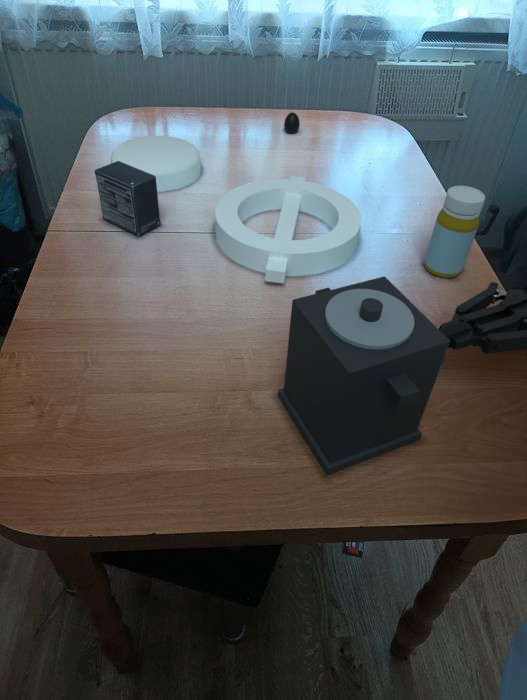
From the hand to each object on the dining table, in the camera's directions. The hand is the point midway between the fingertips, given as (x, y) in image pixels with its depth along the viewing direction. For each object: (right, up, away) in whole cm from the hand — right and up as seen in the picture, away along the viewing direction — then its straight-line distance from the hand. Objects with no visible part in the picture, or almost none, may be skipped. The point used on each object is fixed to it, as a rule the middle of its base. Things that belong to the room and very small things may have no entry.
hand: (426, 344), depth 70 cm
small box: (-47, +25, +38) cm, 66 cm away
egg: (-14, +58, +75) cm, 95 cm away
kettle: (-10, -10, +4) cm, 14 cm away
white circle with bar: (-16, +22, +37) cm, 46 cm away
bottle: (+12, +14, +31) cm, 36 cm away
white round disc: (-45, +40, +55) cm, 82 cm away
